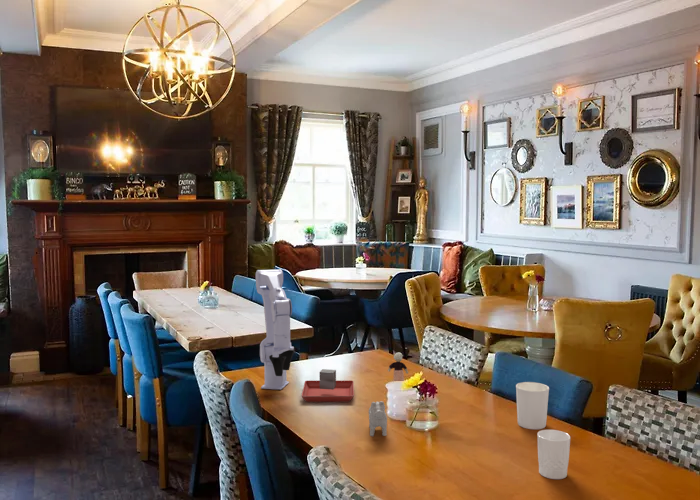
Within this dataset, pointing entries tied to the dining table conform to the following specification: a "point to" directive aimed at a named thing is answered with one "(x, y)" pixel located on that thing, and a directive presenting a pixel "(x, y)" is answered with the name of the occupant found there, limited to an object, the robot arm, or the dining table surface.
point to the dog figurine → (377, 417)
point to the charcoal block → (327, 379)
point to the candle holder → (532, 404)
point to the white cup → (553, 453)
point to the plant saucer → (328, 392)
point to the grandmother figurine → (398, 367)
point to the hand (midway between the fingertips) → (282, 372)
